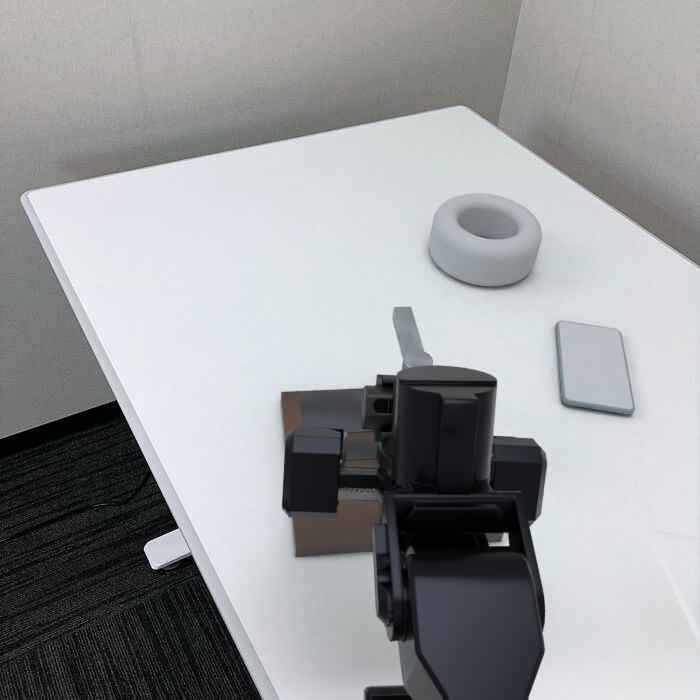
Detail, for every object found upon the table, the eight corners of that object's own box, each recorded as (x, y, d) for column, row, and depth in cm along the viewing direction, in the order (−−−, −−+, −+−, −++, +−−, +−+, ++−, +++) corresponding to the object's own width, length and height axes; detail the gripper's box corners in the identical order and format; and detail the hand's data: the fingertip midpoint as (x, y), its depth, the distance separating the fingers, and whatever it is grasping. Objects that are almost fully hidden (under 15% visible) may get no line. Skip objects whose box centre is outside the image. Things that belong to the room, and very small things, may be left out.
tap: (427, 465, 79) (447, 378, 71) (385, 468, 78) (400, 380, 70) (407, 389, 87) (423, 302, 78) (369, 390, 86) (380, 303, 78)
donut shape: (524, 301, 103) (536, 261, 98) (415, 273, 106) (422, 233, 101) (540, 242, 114) (551, 203, 109) (441, 218, 116) (448, 179, 112)
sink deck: (501, 541, 75) (504, 532, 74) (295, 557, 72) (295, 547, 71) (453, 392, 89) (456, 383, 88) (280, 400, 86) (280, 390, 85)
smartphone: (621, 328, 99) (636, 412, 88) (619, 334, 100) (634, 417, 88) (556, 318, 99) (562, 400, 88) (554, 324, 100) (560, 406, 89)
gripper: (589, 406, 48) (520, 350, 63) (286, 391, 47) (291, 338, 62) (566, 570, 50) (505, 479, 65) (278, 560, 49) (284, 469, 64)
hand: (399, 439), depth 64 cm, fingers open, 9 cm apart
